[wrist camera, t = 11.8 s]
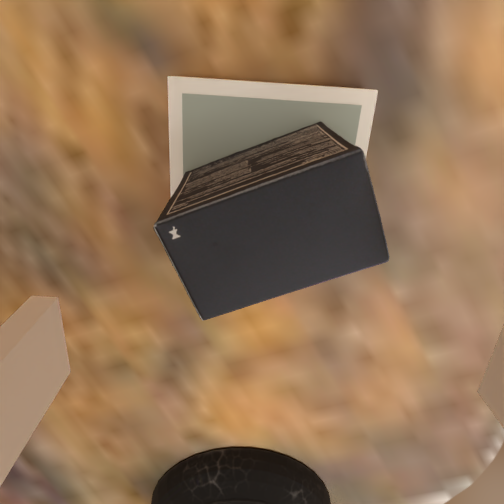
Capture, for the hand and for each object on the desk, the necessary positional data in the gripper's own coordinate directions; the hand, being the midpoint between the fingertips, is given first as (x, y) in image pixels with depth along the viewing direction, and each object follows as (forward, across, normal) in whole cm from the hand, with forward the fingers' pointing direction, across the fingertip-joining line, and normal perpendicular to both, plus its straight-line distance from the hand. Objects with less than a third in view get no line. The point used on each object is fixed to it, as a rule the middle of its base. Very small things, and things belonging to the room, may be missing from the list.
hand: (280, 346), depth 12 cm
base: (+23, 0, 0) cm, 23 cm away
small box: (+18, 0, 0) cm, 19 cm away
